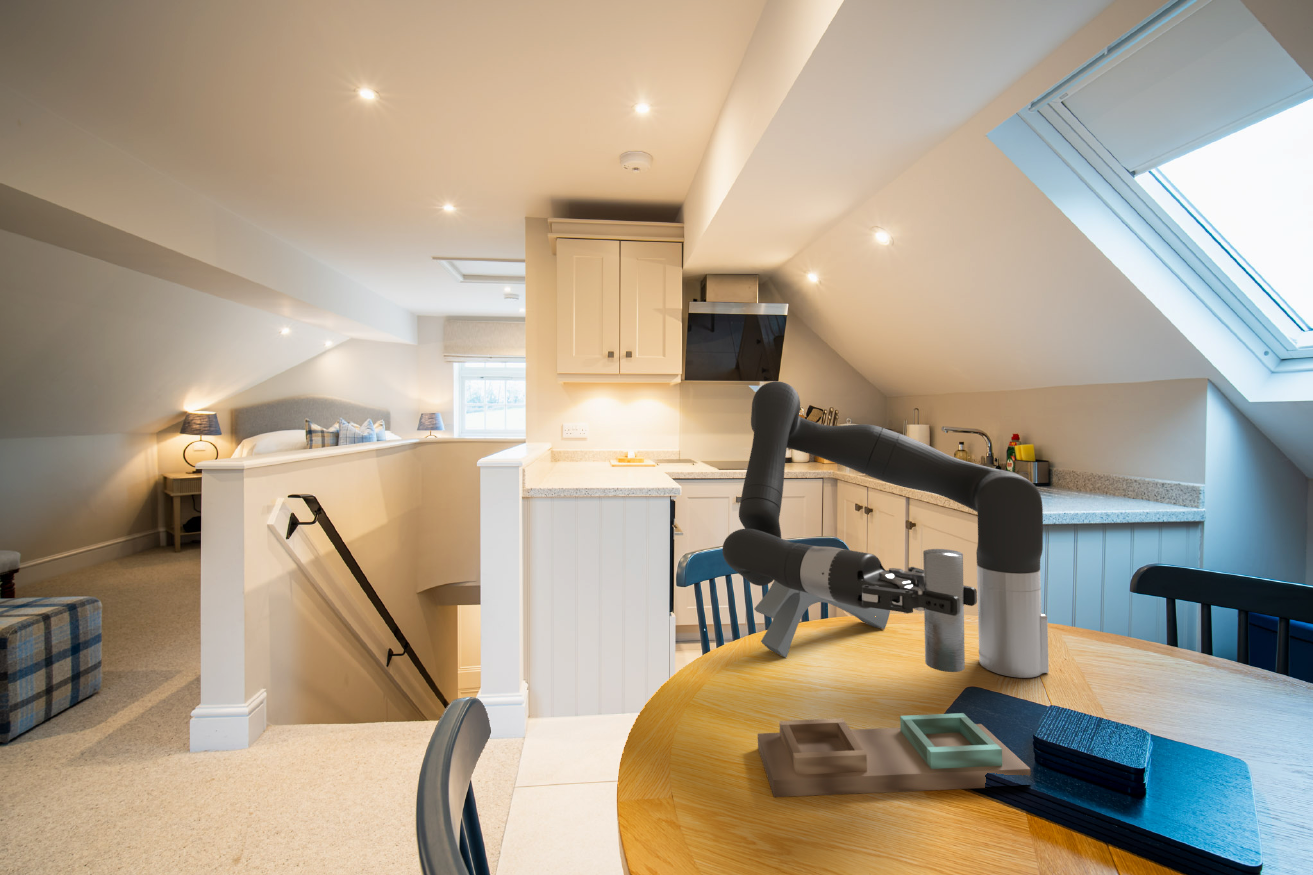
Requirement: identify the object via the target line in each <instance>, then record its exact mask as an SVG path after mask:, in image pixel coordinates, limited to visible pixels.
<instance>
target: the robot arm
mask: <svg viewBox="0 0 1313 875" xmlns="http://www.w3.org/2000/svg"><path fill="white" fill-rule="evenodd" d="M800 412H801V399H800V395H799V394H798V391H796V389H795V388H794V387H793V386H792V385H790V384H788V383H786V382H784V381H777V380H776V381H769V382H767V383H764V384H762V385H761V386H760V387H759V388H758V389H757V390H756V391H755V394H754V395H753V397H752V403H751V416H750V426H751V429H752V431H753V439H752V446H751V450H750V453H749V454H750V455H749V460H748V464H747V467H746V468H747V469H746V472H745V477H744V481H743V487H742V491H741V498H740V504H739V509H738V519H739V520H740V522H741V525H742V526H743V528H740V529H737V530H735V531H733V532H731V533H729V534H728V536H727V537H726V538H725V540H724V541H723V543H722V544H723V545H722V550H721V551H722V556H723V559H724V562H726V563H727V565H728V566H729V567H730V568H732V570H734V571H735V572H736V573H737V574H739V575H740V576H741V577H742V578H743V579H745V581H747V582H748V583H750V584H752V585H755V586H759V587H763V586H767V585H769V584H772V583H773V582H774V580H775V581H776V582H778V583H779V584H781V585H783V586H785V587H787V588H790V589H794V590H798V591H802V592H806V593H810V594H813V595H815V596H818V597H820V598H823V599H827V600H831V601H835V602H839V603H843V604H847V605H851V606H855V607H859V608H863V609H868V608H877V609H884V610H890V612H899V613H905V614H911V613H912V614H913V613H914V610H915V611H919V612H922V611H923V612H924V610H925V608H926V610H931V611H935V612H939V613H944V614H948V615H952V616H956V615H957V614H959V613H960V600H959V598H958V597H957V596H953V595H948V594H943V593H938V592H933V591H929V590H928V591H926V594H925V590H924V569H921V568H918V567H915V566H909V567H907V568H908V569H907V570H903V569H902V568H897V567H891V568H888V570H886V569H885V567H884V566H883V564H882V562H881V560H880V559H879V558H878V556H877V555H875V554H873V553H869V552H863V551H857V550H851V549H843V548H840V547H833V546H819V545H818V546H817V545H812V544H805V543H800V542H799V543H798V542H797V543H796V542H792V541H789V540H786V539H784V538H782V531H781V525H780V516H781V510H782V509H781V508H782V502H783V494H784V480H785V467H786V457H787V449H790V450H794V451H797V452H802V453H805V454H808V455H811V456H815V457H818V458H820V459H824V460H826V461H828V462H832V463H835V464H837V465H840V466H843V467H846V468H849V469H851V470H853V471H856V472H857V473H860V474H862V475H866V476H868V477H871V478H873V479H876V480H879V481H881V482H885V483H888V484H892V485H894V486H897V487H902V488H906V489H911V490H916V491H921V492H924V493H925V492H926V493H931V494H935V495H938V496H942V497H943V498H946V499H949V500H951V501H953V502H954V503H955V502H956V503H958V504H960V505H962V506H964V507H966V508H968V509H970V510H972V511H974V512H976V513H977V546H976V551H975V552H976V581H977V582H976V585H977V587H976V588H977V589H976V588H975V587H974V586H968V585H964V584H963V589H964V606H969V607H973V606H976V605H977V621H978V623H977V624H978V626H977V627H978V654H979V656H978V657H979V658H978V659H979V660H978V663H979V665H981V667H983V668H984V669H985V670H987V671H990V672H993V673H996V674H998V675H1002V676H1006V677H1010V678H1020V679H1022V678H1025V679H1026V678H1027V679H1030V678H1035V677H1036V678H1037V677H1039V676H1041V675H1042V674H1045V673H1046V674H1048V673H1049V672H1050V670H1049V666H1050V665H1049V634H1048V633H1049V630H1048V629H1049V628H1048V626H1049V624H1048V623H1049V622H1048V621H1049V620H1048V616H1047V615H1046V614H1045V613H1042V590H1041V588H1042V587H1041V557H1042V555H1043V551H1044V550H1043V549H1044V548H1043V547H1044V546H1043V544H1044V540H1043V539H1044V522H1043V521H1044V516H1043V515H1044V508H1043V501H1042V496H1041V493H1040V491H1039V489H1038V488H1037V486H1036V485H1035V483H1033V482H1031V481H1030V480H1029V479H1027V478H1026V477H1024V476H1022V475H1021V474H1019V473H1016V472H1013V471H1009V470H1003V469H998V468H994V467H989V466H984V465H982V464H977V463H974V462H969V461H967V460H963V459H959V458H958V457H954V456H951V455H949V454H947V453H944V452H943V451H940V450H938V449H936V448H935V447H933V446H930V445H928V444H926V443H924V442H921V441H919V440H917V439H914V438H912V437H909V436H907V435H905V434H902V433H899V432H896V431H893V430H890V429H887V428H884V427H881V426H878V425H874V424H866V423H863V424H861V423H860V424H846V425H826V424H822V423H818V422H815V421H812V420H809V419H806V418H803V417H801V416H800Z"/></svg>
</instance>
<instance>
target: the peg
mask: <svg viewBox="0 0 1313 875" xmlns="http://www.w3.org/2000/svg"><path fill="white" fill-rule="evenodd" d="M922 554H923V557H922V558H923V559H922V560H923V570H924V590H925V594H926V591H928V590H929V591H933V592H938V593H943V594H948V595H953V596H957V597H958V598H959V600H960V613H959V614H957V615H956V616H952V615H948V614H944V613H939V612H935V611H931V610H926V608H925V610H924V611H923V613H924V616H923V617H924V659H925V661H924V662H925V664H926V666H927V667H929V668H930V669H933V670H935V671H936V670H937V671H940V672H945V673H959V672H962V671H964V670H965V668H966V667H965V666H966V665H965V664H966V663H965V661H966V660H965V658H966V657H965V609H964V608H965V605H964V589H963V585H964V554H963V552H960V551H957V550H953V549H946V548H930V549H929V548H928V549H925V550H923V552H922Z"/></svg>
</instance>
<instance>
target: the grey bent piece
mask: <svg viewBox="0 0 1313 875" xmlns="http://www.w3.org/2000/svg"><path fill="white" fill-rule="evenodd" d="M817 603H826V604H829V605H832V606H834V607H836V608H838V609H841V610H842V611H844V612H847V613H849V614H850V615H852V616H853V617H855V618H856V619H857V620H860V622H862V623H864V624H865V625H868V626H871V627H873V628H876V629H880V630H885V629H886V626H887V624H888V621H889V617H890V613H891V610H884V609H877V608H868V609H863V608H859V607H855V606H851V605H847V604H843V603H839V602H835V601H831V600H827V599H823V598H820V597H818V596H815V595H813V594H810V593H806V592H802V591H798V590H794V589H790V588H787V587H785V586H783V585H781V584H779V583H778V582H776V581H775V580H773V581H772V583H771V586H770V587H769V589H768V590H767V592H766V593H765V595H764V596H763V598H762V599H761V600H760V601H759V602H758V603H757V605H756V606H755V607H754V608H753V609H754V611H756V613H758V614H761V615H763V616H766V617H768V618H771V619H772V621H771V623H770V624H769V627H768V628H767V630H766V632H765V633H764V635H763V637H762V639H761V640H760V642H761V643H762V644H763V646H764V647H766V648H767V649H768V650H769V651H770V650H771V651H770V652H772V651H773V652H772V653H774V652H775V654H776V653H777V655H778V654H779V655H778V656H780V655H781V657H782V656H783V657H782V658H784V657H785V659H787V658H788V655H789V652H790V648H791V644H792V641H793V640H794V637H795V634H796V631H797V628H798V626H799V623H800V622H801V619H802V618H803V615H804V614H805V612H806V611H807V610H808V609H809V607H811V606H812V605H814V604H817ZM875 616H876V617H875ZM786 657H787V658H786Z"/></svg>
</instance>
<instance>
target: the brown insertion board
mask: <svg viewBox="0 0 1313 875" xmlns="http://www.w3.org/2000/svg"><path fill="white" fill-rule="evenodd" d="M899 720H900V724H899V725H900V726H899V727H881V728H858V729H850V727H849V725H848V723H846V721H845V719H844V718H842V717H841V718H840V717H839V718H820V719H819V718H818V719H796V720H795V719H794V720H792V719H791V720H779V732H767V733H765V732H764V733H763V732H761V733H760V732H759V733H757V749H758V753H759V755H760V758H761V762H762V765H763V768H764V771H765V773H766V777H767V779H768V782H769V786H770V788H771V792H772V796H773V798H781V797H782V798H783V797H802V796H804V797H805V796H807V797H808V796H825V795H827V796H828V795H829V796H830V795H847V794H848V795H849V794H851V795H853V794H871V793H872V794H873V793H895V792H898V793H899V792H920V791H921V792H922V791H941V790H943V791H944V790H963V789H964V790H965V789H986V788H985V783H986V777H985V775H986V774H987V773H995V774H996V773H997V774H1004V775H1022V776H1023V775H1029V776H1030V775H1031V771H1032V770H1031V768H1030V766H1028V765H1027V764H1026V763H1025V762H1023V760H1021V759H1020V758H1019V757H1018V756H1017V755H1016V754H1015V753H1014V752H1013V751H1011V750H1010V749H1009V747H1007V746H1006V745H1005V744H1004V743H1003V742H1002V741H1001V740H999V739H998V738H997V737H996V736H995V735H994V734H993V733H992V732H991V731H990V730H988V728H987V727H985V726H984V725H983V724H982V723H975V722H973V720H971V718H969V717H968V716H967V715H966V714H965V713H964V712H961V713H960V712H959V713H958V712H957V713H955V712H954V713H935V714H934V713H933V714H915V715H913V714H911V715H910V714H909V715H908V714H907V715H900V716H899ZM1031 776H1032V775H1031Z"/></svg>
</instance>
